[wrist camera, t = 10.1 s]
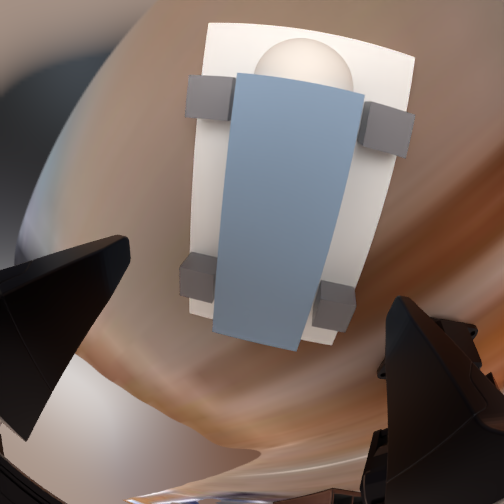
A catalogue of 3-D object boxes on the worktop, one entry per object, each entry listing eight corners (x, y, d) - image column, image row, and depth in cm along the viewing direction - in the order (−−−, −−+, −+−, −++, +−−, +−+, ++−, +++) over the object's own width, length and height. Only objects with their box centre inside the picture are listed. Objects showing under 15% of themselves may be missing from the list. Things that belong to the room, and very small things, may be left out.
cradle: (331, 335, 20) (331, 365, 18) (194, 304, 21) (179, 330, 19) (409, 59, 11) (427, 52, 9) (215, 27, 12) (195, 14, 10)
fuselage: (302, 303, 18) (296, 351, 14) (232, 287, 18) (212, 331, 15) (357, 58, 11) (372, 42, 7) (264, 41, 11) (244, 21, 8)
